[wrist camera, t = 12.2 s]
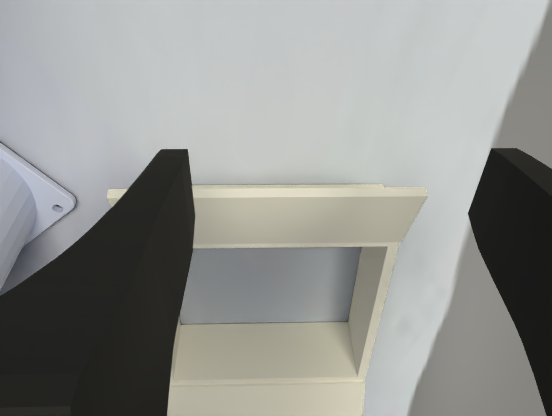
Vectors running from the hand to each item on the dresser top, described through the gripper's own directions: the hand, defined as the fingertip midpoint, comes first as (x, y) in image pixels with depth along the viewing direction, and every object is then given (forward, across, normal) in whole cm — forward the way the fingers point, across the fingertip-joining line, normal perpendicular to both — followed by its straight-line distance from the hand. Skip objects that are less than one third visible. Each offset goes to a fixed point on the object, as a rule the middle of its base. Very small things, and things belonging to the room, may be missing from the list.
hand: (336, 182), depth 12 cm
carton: (+10, +2, +14) cm, 18 cm away
